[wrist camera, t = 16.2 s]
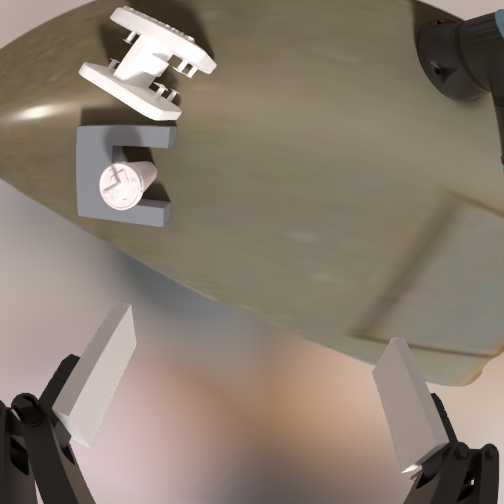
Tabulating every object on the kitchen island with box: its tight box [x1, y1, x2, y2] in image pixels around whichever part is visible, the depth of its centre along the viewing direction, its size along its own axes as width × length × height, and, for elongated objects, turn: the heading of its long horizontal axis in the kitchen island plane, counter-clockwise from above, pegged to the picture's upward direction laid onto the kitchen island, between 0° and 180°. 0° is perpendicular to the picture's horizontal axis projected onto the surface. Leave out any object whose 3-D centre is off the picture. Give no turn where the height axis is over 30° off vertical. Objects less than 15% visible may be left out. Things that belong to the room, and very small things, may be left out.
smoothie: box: [99, 161, 157, 210], centre depth 36 cm, size 6×6×14 cm
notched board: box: [76, 125, 177, 227], centre depth 40 cm, size 16×15×4 cm
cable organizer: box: [79, 6, 217, 120], centre depth 29 cm, size 15×11×12 cm
